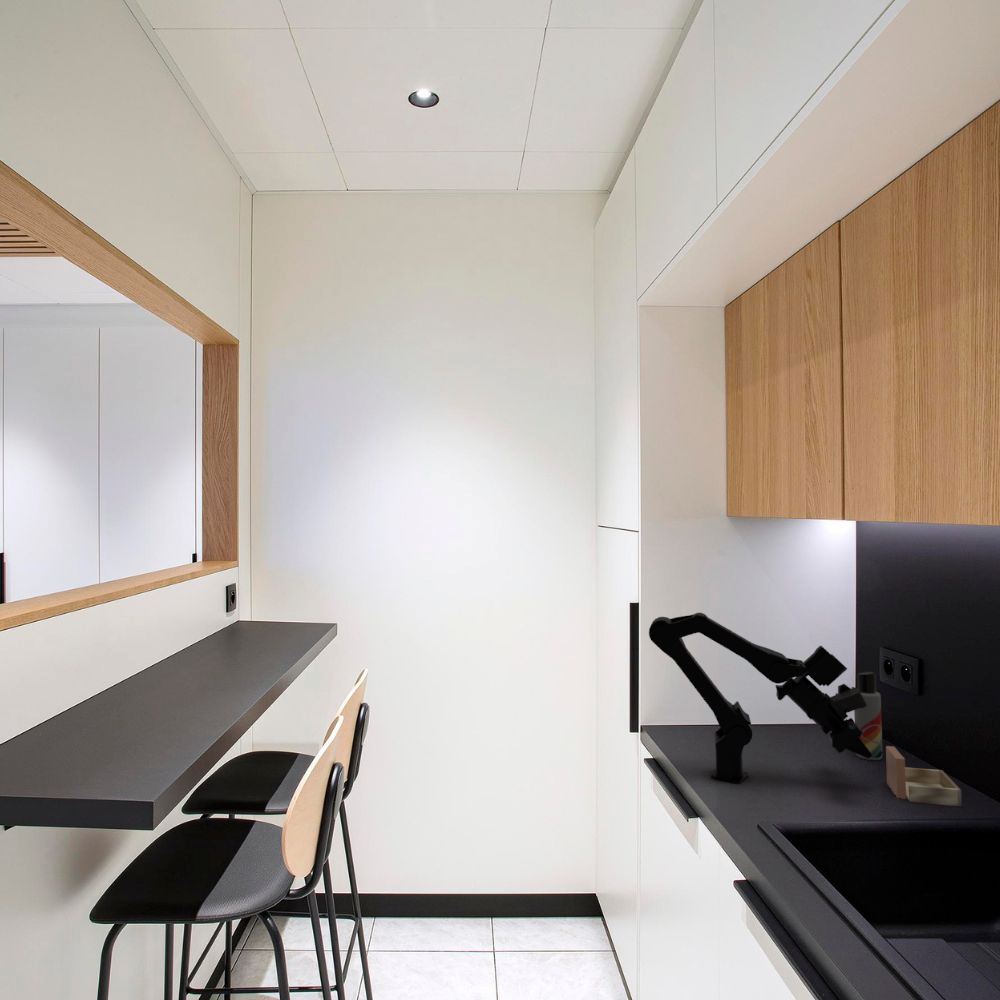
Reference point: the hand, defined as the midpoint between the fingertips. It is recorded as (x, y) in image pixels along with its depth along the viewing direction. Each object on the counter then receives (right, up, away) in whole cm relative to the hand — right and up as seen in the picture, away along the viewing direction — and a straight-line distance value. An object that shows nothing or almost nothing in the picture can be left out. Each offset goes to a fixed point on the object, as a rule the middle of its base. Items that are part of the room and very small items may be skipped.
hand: (870, 756), depth 146 cm
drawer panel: (+5, -7, -2) cm, 8 cm away
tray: (+10, -6, -3) cm, 12 cm away
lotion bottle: (+10, -7, +19) cm, 23 cm away
